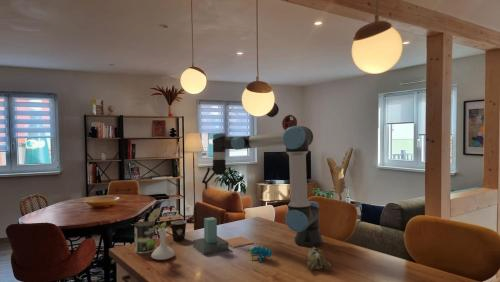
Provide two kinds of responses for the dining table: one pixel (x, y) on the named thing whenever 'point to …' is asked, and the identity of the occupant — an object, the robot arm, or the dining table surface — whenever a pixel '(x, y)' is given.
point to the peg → (210, 230)
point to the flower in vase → (163, 249)
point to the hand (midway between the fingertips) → (219, 194)
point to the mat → (238, 242)
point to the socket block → (210, 246)
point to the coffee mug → (178, 230)
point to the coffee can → (144, 237)
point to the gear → (260, 252)
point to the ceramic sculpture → (317, 260)
